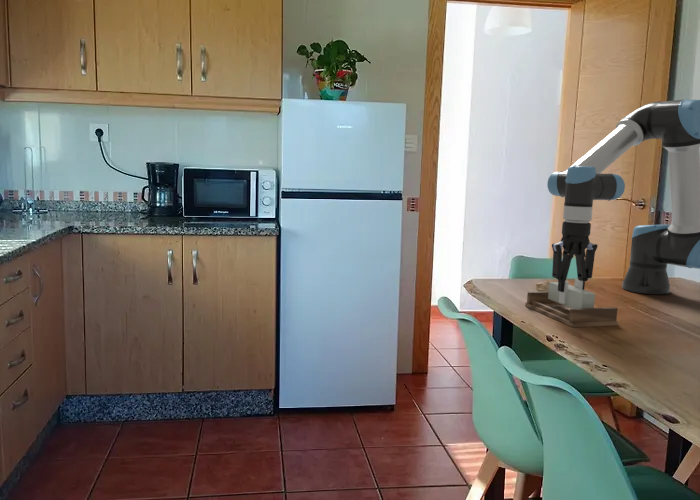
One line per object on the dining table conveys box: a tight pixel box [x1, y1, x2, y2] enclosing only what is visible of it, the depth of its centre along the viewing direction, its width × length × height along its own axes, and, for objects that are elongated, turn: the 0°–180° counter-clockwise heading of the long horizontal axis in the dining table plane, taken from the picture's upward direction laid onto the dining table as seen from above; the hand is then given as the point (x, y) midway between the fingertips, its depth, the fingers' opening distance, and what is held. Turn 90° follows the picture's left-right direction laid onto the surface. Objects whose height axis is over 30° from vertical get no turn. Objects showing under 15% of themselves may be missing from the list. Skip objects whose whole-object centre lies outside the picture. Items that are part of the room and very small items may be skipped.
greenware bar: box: [548, 281, 596, 309], centre depth 175 cm, size 4×16×5 cm, turn 15°
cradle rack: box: [524, 291, 619, 328], centre depth 176 cm, size 24×14×4 cm, turn 15°
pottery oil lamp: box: [535, 280, 550, 292], centre depth 199 cm, size 9×12×7 cm
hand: (569, 302), depth 176 cm, fingers closed on greenware bar, 4 cm apart
